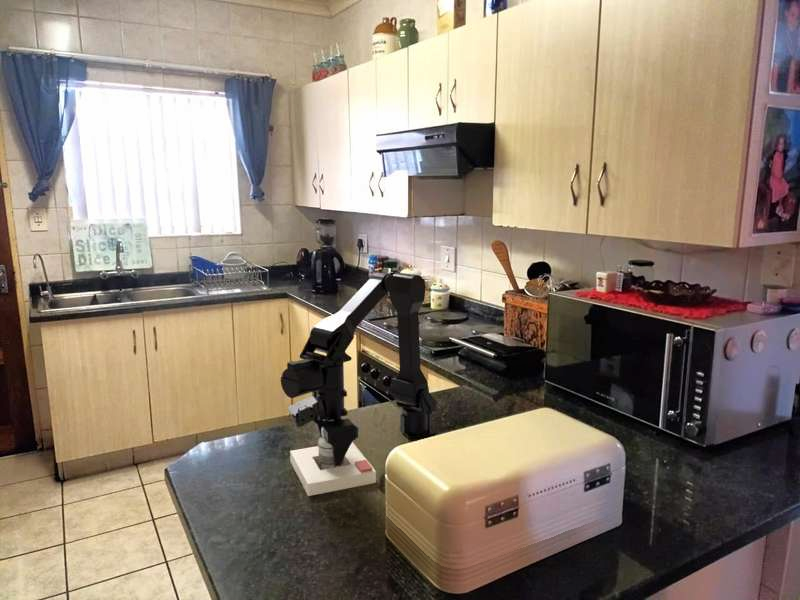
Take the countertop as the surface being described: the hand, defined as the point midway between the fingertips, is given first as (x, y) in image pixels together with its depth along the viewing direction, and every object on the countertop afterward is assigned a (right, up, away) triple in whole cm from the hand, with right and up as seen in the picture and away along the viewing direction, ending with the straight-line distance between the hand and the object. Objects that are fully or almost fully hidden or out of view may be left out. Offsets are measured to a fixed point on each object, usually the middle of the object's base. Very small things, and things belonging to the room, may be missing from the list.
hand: (331, 456), depth 122 cm
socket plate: (0, -3, +1) cm, 4 cm away
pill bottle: (0, -4, +1) cm, 4 cm away
